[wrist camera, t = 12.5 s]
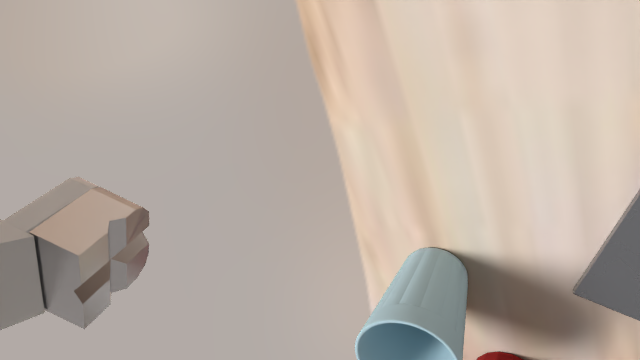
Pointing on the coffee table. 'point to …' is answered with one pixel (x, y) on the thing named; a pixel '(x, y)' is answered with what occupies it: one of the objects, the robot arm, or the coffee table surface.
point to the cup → (419, 311)
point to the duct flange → (617, 267)
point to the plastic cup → (498, 356)
